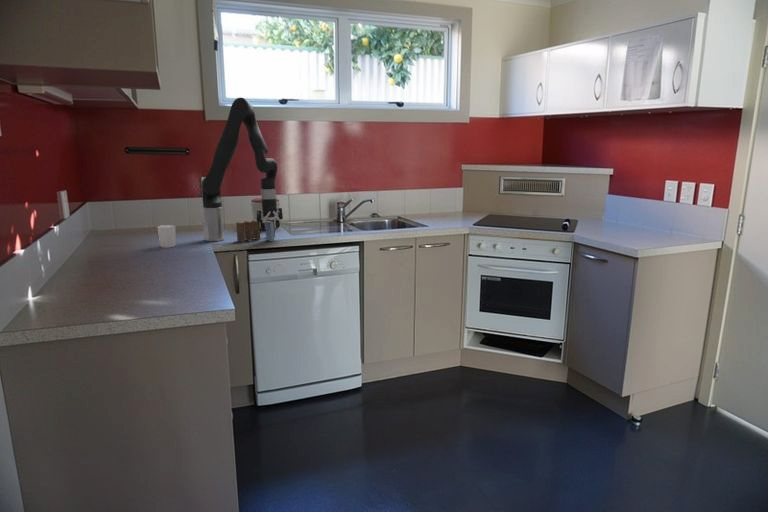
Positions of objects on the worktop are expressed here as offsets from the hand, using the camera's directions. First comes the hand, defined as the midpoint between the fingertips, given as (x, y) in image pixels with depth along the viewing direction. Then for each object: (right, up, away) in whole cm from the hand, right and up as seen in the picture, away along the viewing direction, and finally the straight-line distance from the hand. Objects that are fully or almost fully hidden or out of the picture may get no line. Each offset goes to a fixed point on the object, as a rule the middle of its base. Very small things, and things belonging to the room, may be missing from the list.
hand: (270, 228), depth 267 cm
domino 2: (-12, -6, +1) cm, 13 cm away
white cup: (-47, -10, -16) cm, 50 cm away
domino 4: (-2, -4, +11) cm, 12 cm away
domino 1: (-15, -7, -2) cm, 16 cm away
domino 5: (0, -6, +1) cm, 6 cm away
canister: (-11, +2, +39) cm, 41 cm away
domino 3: (-8, -5, +4) cm, 11 cm away
